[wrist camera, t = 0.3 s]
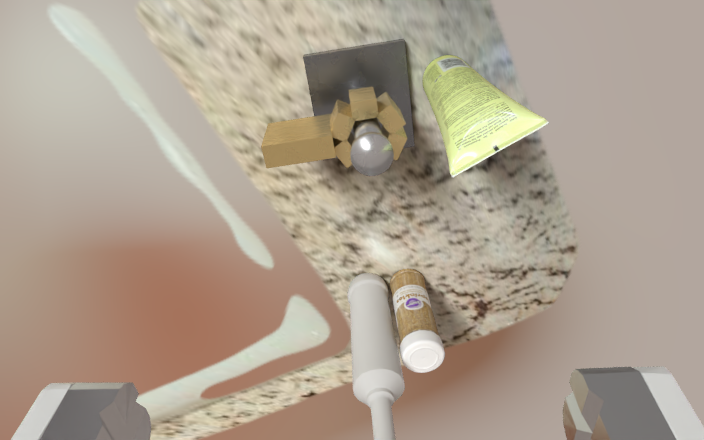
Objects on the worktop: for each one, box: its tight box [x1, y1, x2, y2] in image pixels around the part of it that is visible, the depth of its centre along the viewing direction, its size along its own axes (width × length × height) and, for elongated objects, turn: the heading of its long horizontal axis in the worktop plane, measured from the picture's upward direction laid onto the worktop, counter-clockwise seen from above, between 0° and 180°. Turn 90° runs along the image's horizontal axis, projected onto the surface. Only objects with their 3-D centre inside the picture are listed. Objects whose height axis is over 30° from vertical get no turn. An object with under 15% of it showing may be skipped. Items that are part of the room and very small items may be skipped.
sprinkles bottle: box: [390, 269, 445, 373], centre depth 60 cm, size 5×5×14 cm
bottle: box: [348, 273, 405, 440], centre depth 55 cm, size 5×5×25 cm
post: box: [303, 39, 415, 176], centre depth 47 cm, size 11×10×15 cm
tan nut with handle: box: [261, 86, 407, 168], centre depth 46 cm, size 6×12×6 cm, turn 98°
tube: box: [423, 55, 549, 177], centre depth 45 cm, size 6×5×20 cm
